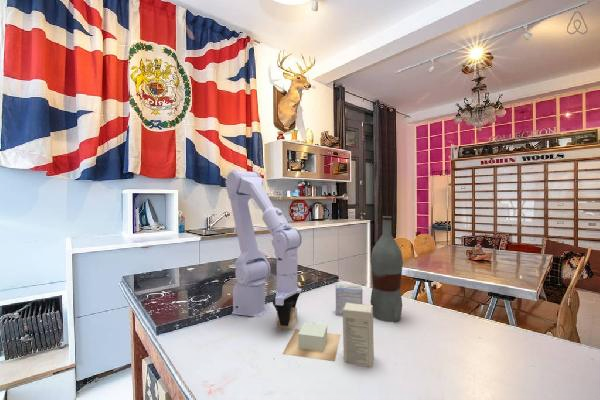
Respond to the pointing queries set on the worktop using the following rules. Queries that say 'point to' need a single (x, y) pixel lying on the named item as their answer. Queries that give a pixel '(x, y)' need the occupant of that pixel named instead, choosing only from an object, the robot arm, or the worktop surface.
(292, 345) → the cork mat
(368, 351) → the skincare box
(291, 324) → the maple cube
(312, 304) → the worktop surface
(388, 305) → the bottle
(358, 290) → the medicine box
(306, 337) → the sage block
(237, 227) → the robot arm
